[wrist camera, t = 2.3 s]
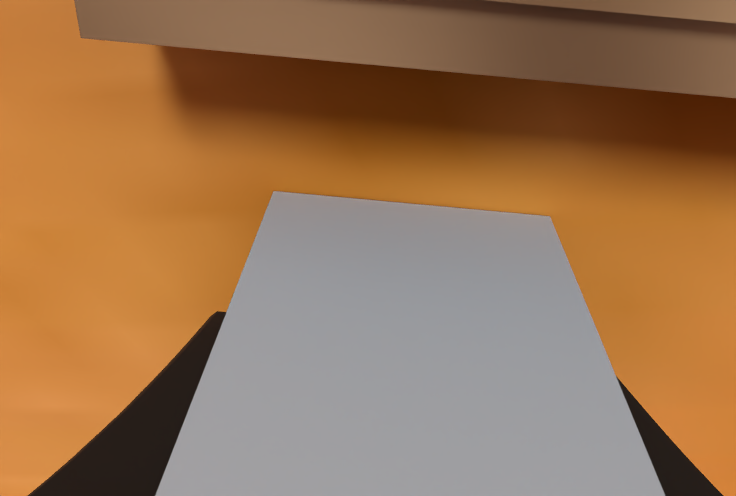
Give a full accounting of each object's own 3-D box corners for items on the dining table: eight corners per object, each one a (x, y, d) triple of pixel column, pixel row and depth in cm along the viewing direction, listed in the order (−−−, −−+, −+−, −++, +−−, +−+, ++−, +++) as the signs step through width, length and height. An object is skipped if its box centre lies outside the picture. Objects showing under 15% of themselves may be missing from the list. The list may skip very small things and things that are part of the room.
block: (549, 216, 10) (703, 589, 5) (497, 409, 12) (562, 791, 7) (273, 191, 10) (138, 538, 5) (274, 389, 12) (186, 758, 7)
